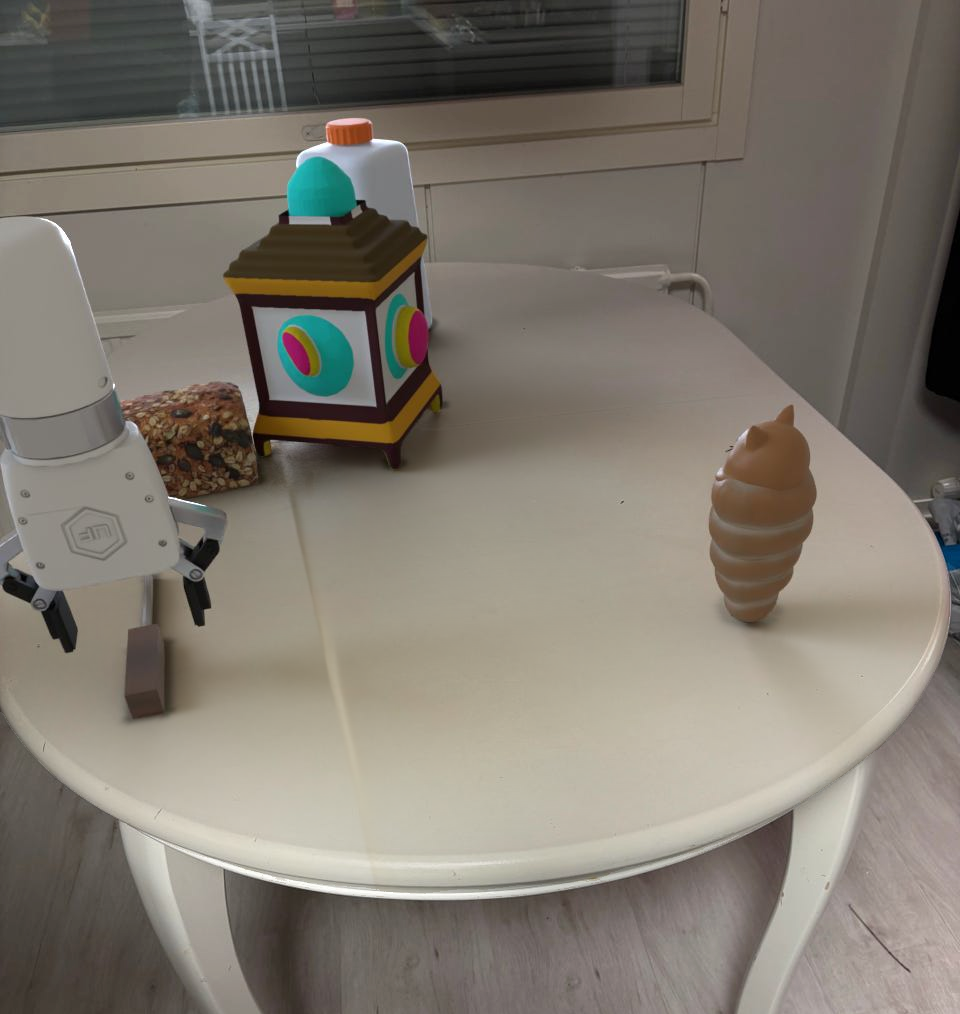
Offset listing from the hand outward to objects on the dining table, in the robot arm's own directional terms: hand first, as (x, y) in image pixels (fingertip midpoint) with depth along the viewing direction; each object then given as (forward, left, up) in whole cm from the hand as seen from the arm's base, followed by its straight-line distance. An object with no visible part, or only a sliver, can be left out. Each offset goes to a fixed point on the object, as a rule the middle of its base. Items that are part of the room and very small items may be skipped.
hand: (136, 629), depth 74 cm
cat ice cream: (+49, -6, -6) cm, 49 cm away
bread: (+2, +36, -6) cm, 36 cm away
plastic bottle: (+31, +75, -6) cm, 81 cm away
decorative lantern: (+23, +42, -6) cm, 48 cm away
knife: (0, +6, -6) cm, 8 cm away
